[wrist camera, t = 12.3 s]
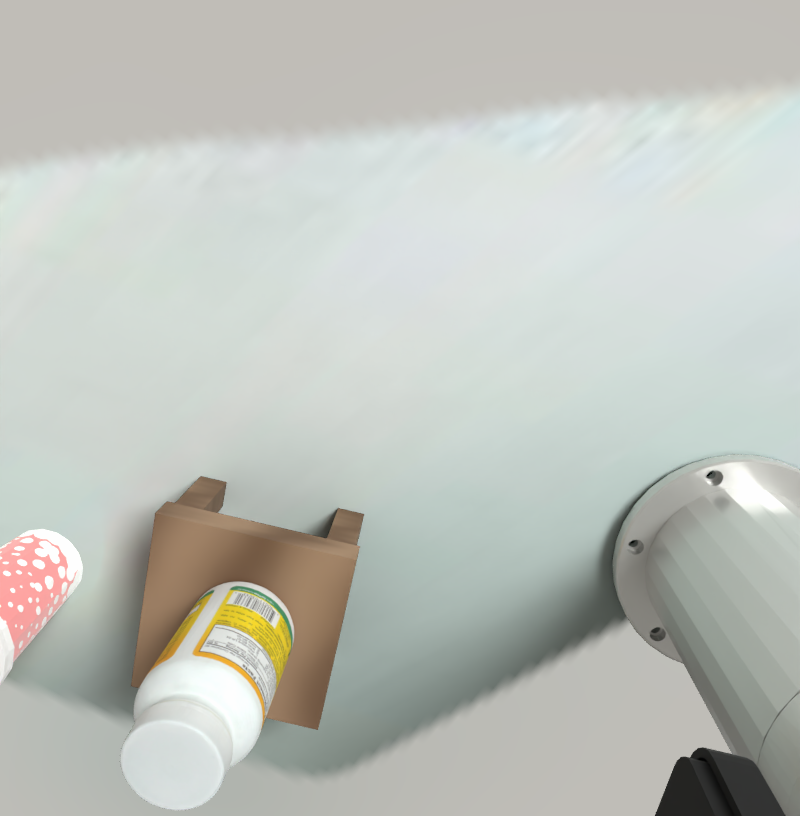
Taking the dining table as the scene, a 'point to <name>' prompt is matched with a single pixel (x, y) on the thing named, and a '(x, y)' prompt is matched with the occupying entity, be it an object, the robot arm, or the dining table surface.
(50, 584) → the beverage cup
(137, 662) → the footstool
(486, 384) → the dining table surface
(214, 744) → the supplement bottle
